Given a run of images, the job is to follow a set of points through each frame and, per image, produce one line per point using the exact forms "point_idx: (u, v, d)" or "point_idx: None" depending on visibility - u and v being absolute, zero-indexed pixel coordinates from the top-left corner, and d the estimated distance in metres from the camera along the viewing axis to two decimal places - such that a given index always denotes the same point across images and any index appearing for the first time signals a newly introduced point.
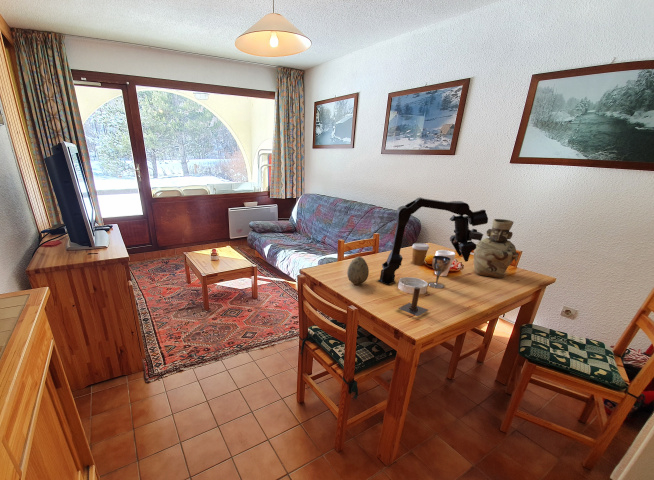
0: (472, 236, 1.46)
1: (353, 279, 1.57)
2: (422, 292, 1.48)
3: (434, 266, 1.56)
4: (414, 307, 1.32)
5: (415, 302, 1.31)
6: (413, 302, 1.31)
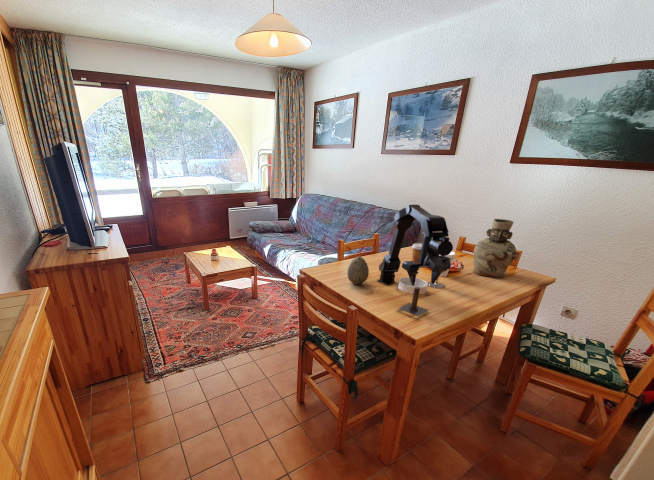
0: (427, 261, 1.21)
1: (353, 279, 1.57)
2: (422, 292, 1.48)
3: None
4: (414, 307, 1.32)
5: (415, 302, 1.31)
6: (413, 302, 1.31)
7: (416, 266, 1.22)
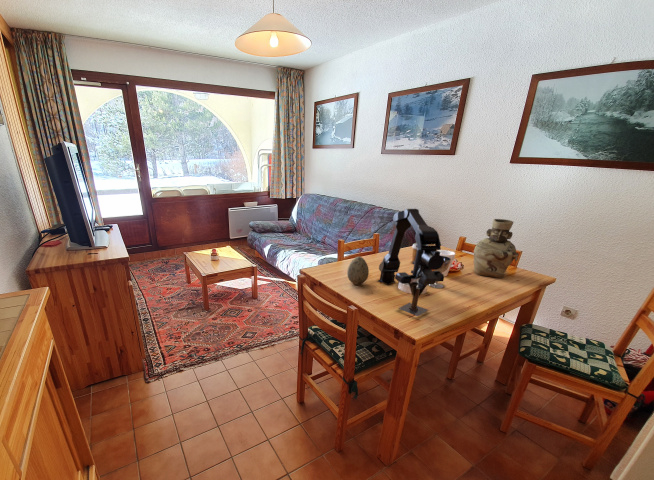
0: (419, 274, 1.23)
1: (353, 279, 1.57)
2: (422, 292, 1.48)
3: None
4: (414, 307, 1.32)
5: (415, 302, 1.31)
6: (413, 302, 1.31)
7: (408, 278, 1.24)
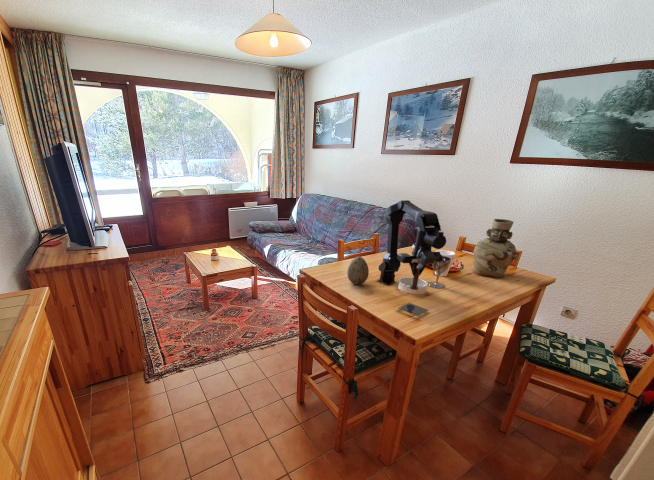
0: (419, 254, 1.32)
1: (353, 279, 1.57)
2: (422, 292, 1.48)
3: (434, 266, 1.56)
4: (414, 286, 1.41)
5: (415, 281, 1.40)
6: (414, 281, 1.40)
7: (409, 258, 1.33)
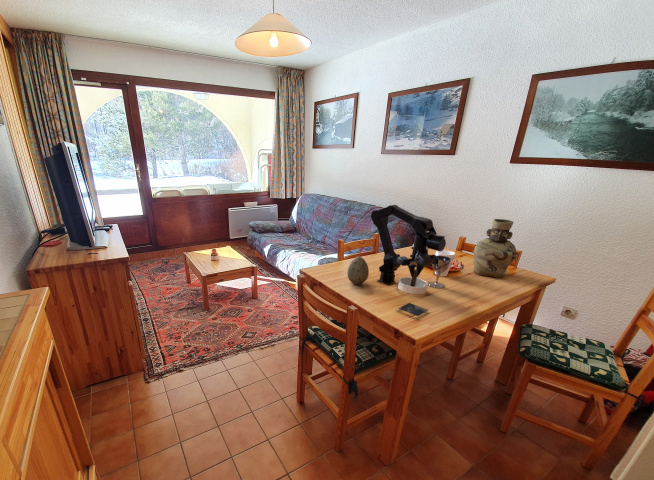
0: (417, 257, 1.43)
1: (353, 279, 1.57)
2: (422, 292, 1.48)
3: (434, 266, 1.56)
4: None
5: (414, 282, 1.51)
6: (412, 282, 1.52)
7: (408, 261, 1.44)
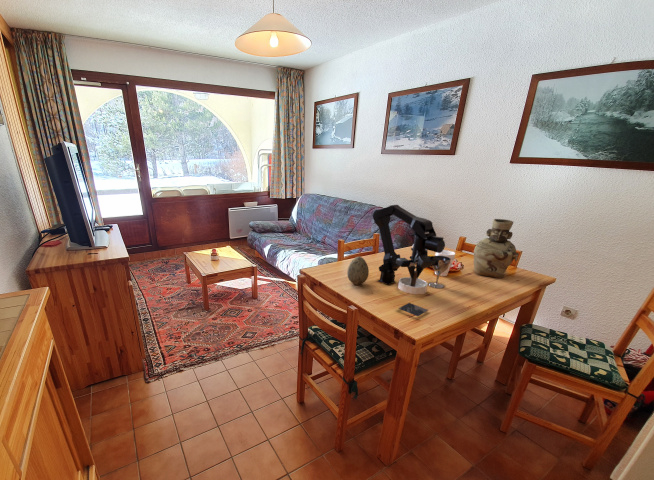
0: (416, 258, 1.42)
1: (353, 279, 1.57)
2: (422, 292, 1.48)
3: (434, 266, 1.56)
4: None
5: (413, 284, 1.50)
6: (412, 284, 1.50)
7: (407, 262, 1.43)
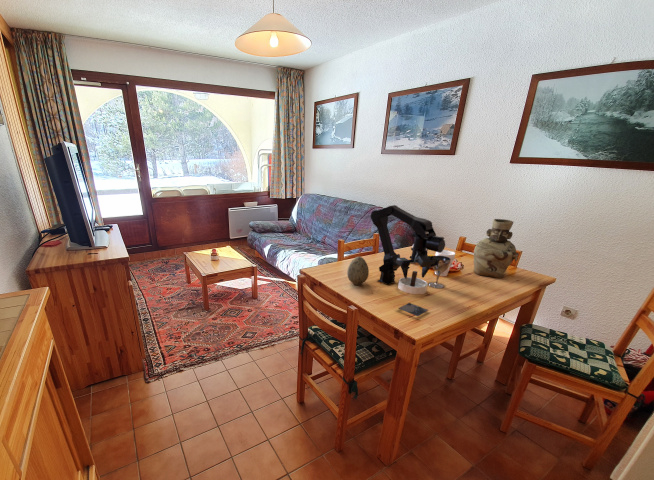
0: (416, 258, 1.43)
1: (353, 279, 1.57)
2: (422, 292, 1.48)
3: (434, 266, 1.56)
4: None
5: (413, 284, 1.52)
6: (411, 284, 1.52)
7: (407, 262, 1.44)
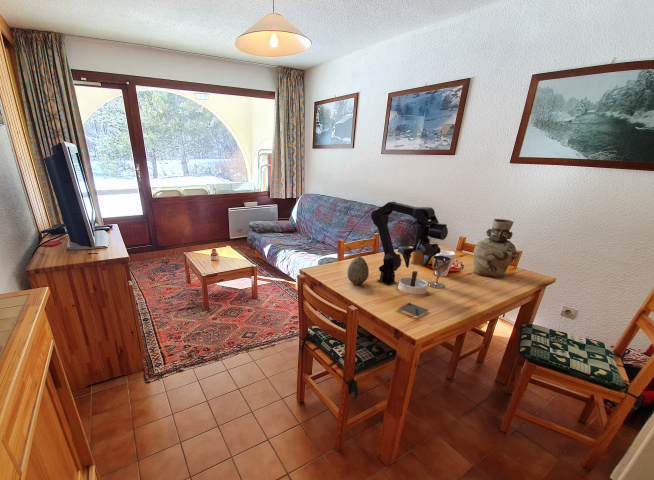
0: (419, 246, 1.41)
1: (353, 279, 1.57)
2: (422, 292, 1.48)
3: (434, 266, 1.56)
4: None
5: (413, 284, 1.52)
6: (411, 284, 1.52)
7: (409, 250, 1.42)
